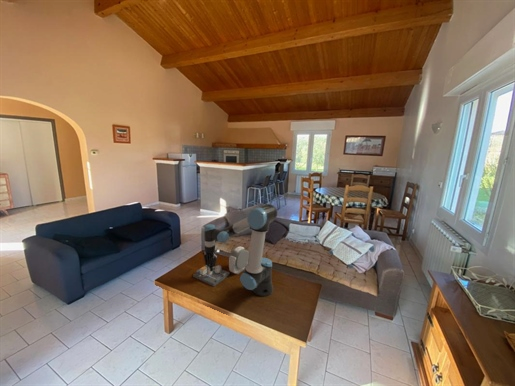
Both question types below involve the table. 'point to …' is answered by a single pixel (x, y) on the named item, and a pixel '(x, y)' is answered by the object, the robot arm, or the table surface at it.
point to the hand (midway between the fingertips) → (210, 274)
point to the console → (211, 276)
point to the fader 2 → (217, 269)
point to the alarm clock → (238, 259)
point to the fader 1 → (203, 270)
